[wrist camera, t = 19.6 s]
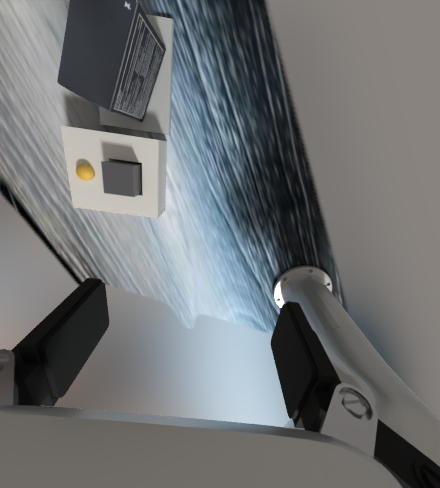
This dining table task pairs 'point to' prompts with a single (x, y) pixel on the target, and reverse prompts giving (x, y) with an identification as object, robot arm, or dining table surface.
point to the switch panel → (107, 149)
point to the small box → (111, 55)
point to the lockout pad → (160, 99)
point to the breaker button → (122, 177)
